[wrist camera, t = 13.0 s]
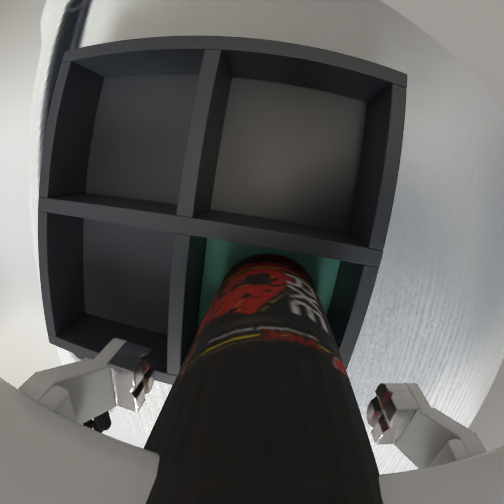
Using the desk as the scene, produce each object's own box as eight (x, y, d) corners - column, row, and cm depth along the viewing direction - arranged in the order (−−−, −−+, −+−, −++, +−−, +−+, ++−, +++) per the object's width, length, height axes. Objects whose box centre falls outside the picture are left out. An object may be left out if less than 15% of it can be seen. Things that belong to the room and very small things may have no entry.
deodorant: (329, 266, 17) (461, 510, 2) (299, 351, 18) (323, 584, 4) (230, 242, 17) (79, 482, 2) (210, 330, 18) (123, 557, 4)
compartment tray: (102, 71, 15) (65, 51, 11) (377, 96, 15) (407, 74, 10) (82, 315, 20) (49, 343, 15) (320, 365, 19) (330, 408, 15)
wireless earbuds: (94, 353, 21) (62, 387, 16) (119, 360, 20) (90, 398, 16) (107, 410, 22) (85, 445, 17) (130, 418, 22) (110, 454, 17)
